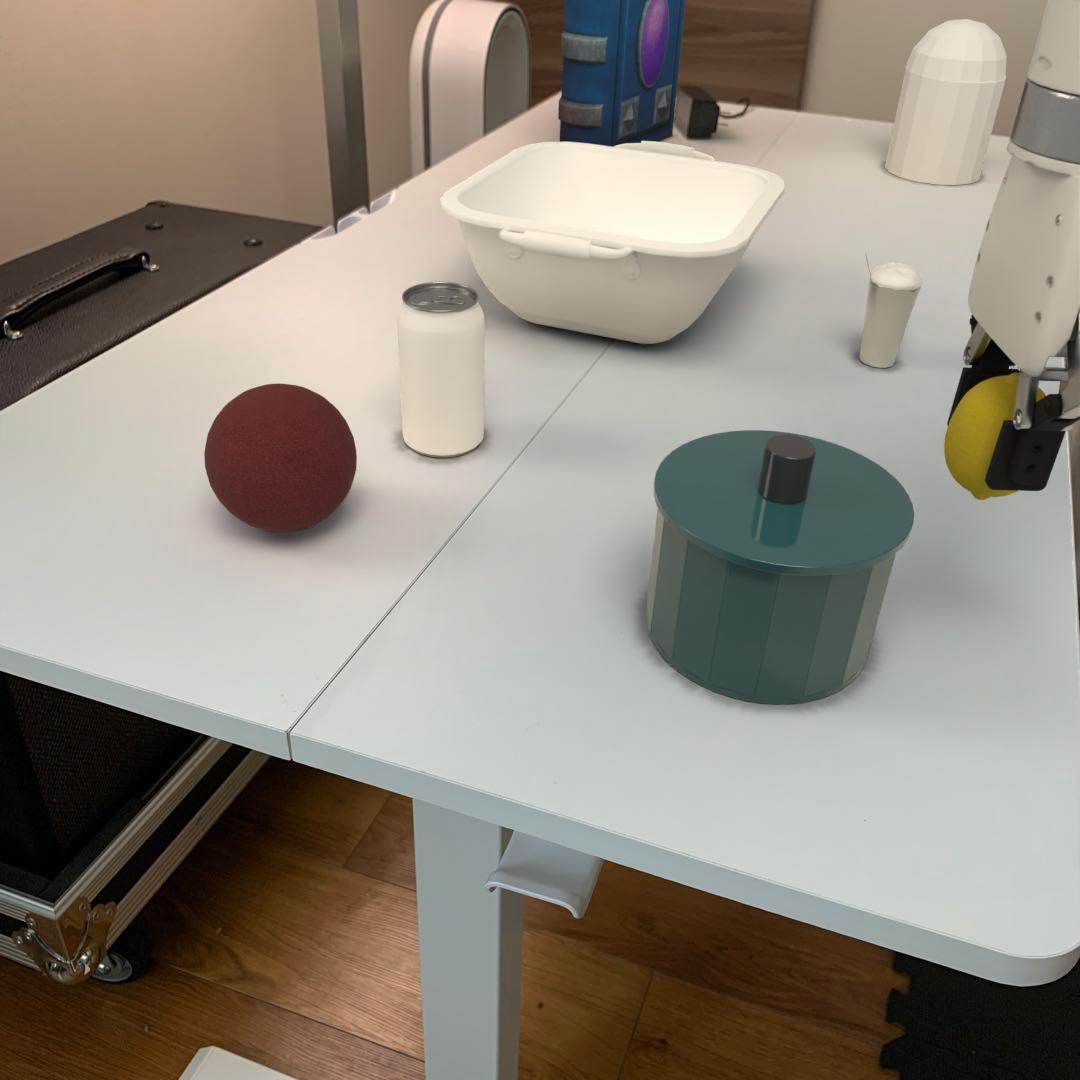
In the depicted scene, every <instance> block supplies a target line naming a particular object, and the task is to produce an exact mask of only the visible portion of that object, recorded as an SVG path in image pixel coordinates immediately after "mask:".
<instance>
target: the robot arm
mask: <svg viewBox="0 0 1080 1080" xmlns="http://www.w3.org/2000/svg"><path fill="white" fill-rule="evenodd" d="M1028 67H1029V68H1028V71H1027V75H1026V77H1025V81H1024V84H1023V87H1022V92H1021V94H1020V95H1021V96H1020V99H1019V103H1018V106H1017V109H1016V113H1015V117H1014V120H1013V124H1012V128H1011V131H1010V136H1009V138H1008V143H1007V146H1006V151H1007V153H1008V154H1009V155H1011V157H1010V160H1009V162H1008V164H1007V168H1006V170H1005V173H1004V175H1003V178H1002V180H1001V182H1000V186H999V189H998V192H997V194H996V196H995V200H994V203H993V206H992V209H991V211H990V214H989V218H988V220H987V224H986V227H985V230H984V232H983V236H982V240H981V243H980V246H979V250H978V253H977V256H976V261H975V263H974V267H973V271H972V276H971V280H970V284H969V285H970V286H969V290H968V298H967V301H968V308H969V310H970V313H971V317H970V318H969V325H970V333H971V335H970V337H969V340H968V341H967V343H966V345H965V348H964V351H963V363H964V365H965V367H964V366H963V367H962V370H961V373H960V377H959V381H958V384H957V388H956V391H955V394H954V398H953V401H952V405H951V408H950V411H949V416H948V419H947V423H946V425H947V427H948V425H949V422H950V420H951V417H952V415H953V413H954V411H955V409H956V407H957V406H958V404H959V402H960V401H961V399H962V398H963V397H964V395H965V394H966V393H967V392H968V391H969V390H970V389H972V388H973V387H974V386H976V385H977V384H979V383H980V382H982V381H985V380H987V379H990V378H993V377H997V376H1009V375H1010V374H1012V373H1019V379H1018V386H1017V393H1016V399H1015V406H1014V413H1013V420H1004V421H1003V424H1002V427H1001V430H1000V434H999V437H998V440H997V443H996V446H995V449H994V452H993V456H992V459H991V462H990V465H989V468H988V471H987V474H986V478H985V483H986V484H987V486H988V487H989V488H990V489H991V490H1015V491H1017V492H1020V491H1021V492H1040V491H1043V490H1044V489H1045V488H1046V487H1047V486H1048V482H1049V480H1050V476H1051V474H1052V471H1053V469H1054V466H1055V462H1056V459H1057V458H1058V454H1059V451H1060V450H1061V447H1062V443H1063V440H1064V438H1065V436H1066V432H1071V431H1073V429H1074V428H1075V425H1076V423H1077V422H1078V421H1080V0H1047V3H1046V6H1045V9H1044V13H1043V18H1042V21H1041V24H1040V28H1039V31H1038V35H1037V38H1036V41H1035V46H1034V50H1033V54H1032V57H1031V61H1030V64H1029V66H1028ZM1049 358H1066V361H1065V367H1054V366H1053V367H1051V366H1047V363H1048V361H1049ZM966 366H971V367H966ZM1015 366H1016V367H1017V368H1014V367H1015ZM1010 367H1011V368H1010ZM1040 382H1059V385H1058V386H1059V387H1058V393H1048V394H1046V396H1045V397H1044V398H1042V399H1041V400H1039V401H1037V402H1036V398H1037V392H1038V387H1039V385H1040Z"/></svg>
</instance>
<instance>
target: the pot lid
mask: <svg viewBox="0 0 1080 1080" xmlns="http://www.w3.org/2000/svg"><path fill="white" fill-rule="evenodd" d="M652 488H653V498H654V501H655V505H656V507H657V510H658V509H659V511H660V513H661V515H662V516H663V517H664V519H665V520H666V521H667V522H668V524H669V525H670V526H671V527H672V528H673V529H674V530H675V531H676V532H678V533H679V534H680V535H681V536H683V537H684V538H685V539H687V540H688V541H689V542H691V543H693V544H694V545H696V546H698V547H699V548H701V549H703V550H705V551H707V552H709V553H711V554H713V555H715V556H717V557H720V558H722V559H725V560H728V561H730V562H733V563H736V564H739V565H743V566H746V567H749V568H753V569H758V570H762V571H767V572H772V573H780V574H787V575H801V576H827V575H837V574H845V573H850V572H855V571H859V570H863V569H866V568H869V567H872V566H875V565H877V564H879V563H881V562H883V561H885V560H887V559H888V558H890V557H891V556H893V555H895V554H896V553H898V552H899V551H900V550H902V548H903V547H904V546H905V545H906V543H907V541H908V540H909V538H910V536H911V534H912V530H913V526H914V521H915V510H914V504H913V502H912V500H911V497H910V495H909V494H908V491H907V490H906V489H905V487H904V486H903V485H902V483H901V482H900V481H899V480H898V479H897V478H896V477H895V476H894V475H893V474H891V473H890V472H889V471H888V470H887V469H886V468H884V467H882V466H881V465H880V464H878V463H877V462H876V461H874V460H872V459H870V458H868V457H866V456H864V455H863V454H861V453H859V452H856V451H855V450H852V449H850V448H847V447H844V446H843V445H839V444H837V443H835V442H831V441H827V440H825V439H821V438H818V437H813V436H808V435H804V434H798V433H793V432H785V431H777V430H762V429H748V430H747V429H746V430H745V429H744V430H743V429H742V430H732V431H723V432H718V433H712V434H708V435H703V436H701V437H698V438H695V439H691V440H690V441H687V442H685V443H683V444H681V445H679V446H678V447H676V448H675V449H673V450H672V451H670V452H669V453H668V454H667V455H665V457H664V458H663V459H662V461H661V462H660V464H659V465H658V467H657V469H656V471H655V475H654V480H653V487H652ZM896 555H897V554H896ZM896 555H895V556H896Z"/></svg>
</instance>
